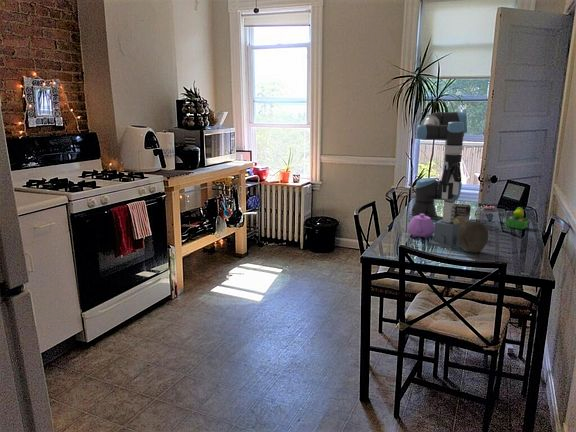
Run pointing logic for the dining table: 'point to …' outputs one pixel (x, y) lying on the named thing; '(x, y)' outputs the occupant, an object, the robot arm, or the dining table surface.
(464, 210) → the coffee box
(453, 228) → the stand base
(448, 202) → the column
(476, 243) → the brown round ball
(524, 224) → the fruit basket
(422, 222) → the teapot
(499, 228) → the dining table surface
